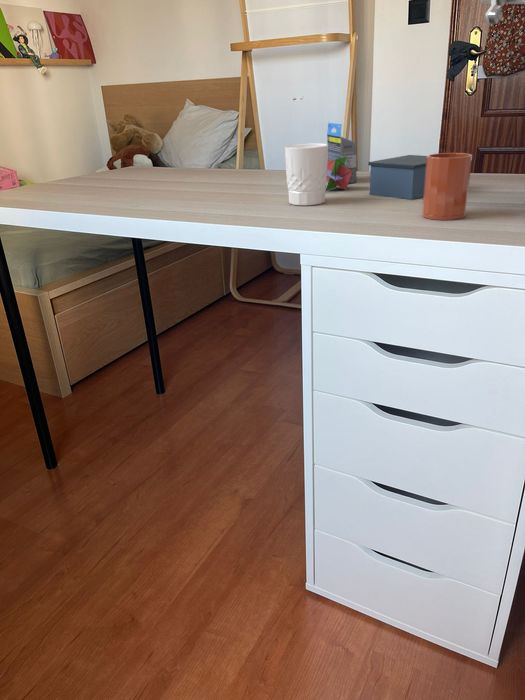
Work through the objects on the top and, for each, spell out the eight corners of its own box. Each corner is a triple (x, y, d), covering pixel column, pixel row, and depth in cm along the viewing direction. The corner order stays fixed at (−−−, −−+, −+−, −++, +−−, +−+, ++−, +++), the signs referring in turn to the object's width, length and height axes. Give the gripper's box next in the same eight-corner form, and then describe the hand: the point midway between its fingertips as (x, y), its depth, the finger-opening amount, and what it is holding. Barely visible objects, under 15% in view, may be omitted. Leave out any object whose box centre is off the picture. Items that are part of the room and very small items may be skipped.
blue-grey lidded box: (407, 185, 110) (409, 154, 107) (452, 190, 103) (455, 157, 100) (367, 194, 103) (368, 162, 101) (412, 200, 96) (414, 165, 93)
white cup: (335, 203, 97) (336, 145, 92) (296, 208, 94) (295, 148, 90) (316, 196, 103) (315, 142, 99) (279, 201, 101) (277, 146, 97)
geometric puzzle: (367, 177, 108) (347, 144, 108) (349, 182, 103) (329, 147, 103) (342, 197, 113) (323, 165, 113) (325, 203, 108) (305, 169, 108)
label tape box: (357, 183, 116) (358, 122, 111) (339, 184, 115) (340, 123, 110) (342, 177, 124) (343, 121, 118) (326, 179, 123) (326, 122, 118)
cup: (437, 209, 87) (443, 152, 83) (473, 214, 83) (480, 154, 79) (413, 216, 84) (418, 156, 80) (449, 222, 79) (455, 158, 75)
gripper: (503, -75, 78) (451, 0, 78) (658, -88, 65) (596, 2, 65) (510, -35, 83) (460, 36, 83) (654, -40, 70) (596, 44, 70)
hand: (521, 21), depth 73 cm, fingers open, 8 cm apart
